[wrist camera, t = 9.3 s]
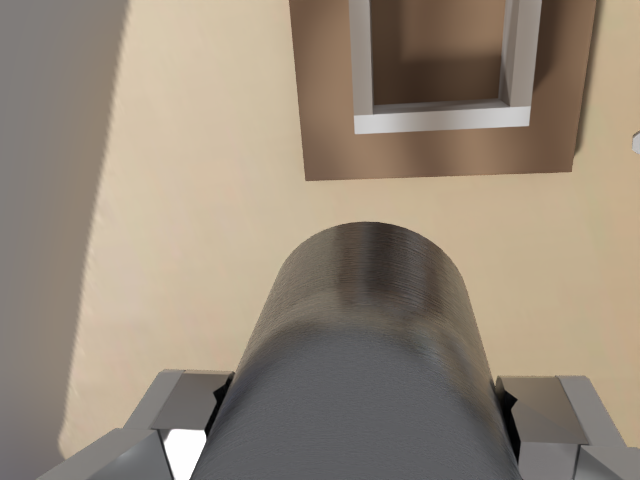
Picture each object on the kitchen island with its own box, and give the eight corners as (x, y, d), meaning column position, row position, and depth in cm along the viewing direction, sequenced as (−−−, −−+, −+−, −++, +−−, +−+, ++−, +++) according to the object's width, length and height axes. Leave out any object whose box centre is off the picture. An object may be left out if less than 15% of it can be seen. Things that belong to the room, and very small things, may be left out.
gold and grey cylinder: (474, 219, 11) (726, 802, 3) (464, 391, 13) (593, 1020, 5) (260, 224, 12) (-34, 697, 4) (283, 386, 14) (129, 923, 6)
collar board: (610, -160, 23) (654, -195, 19) (564, 166, 30) (590, 188, 26) (282, -118, 25) (263, -142, 21) (308, 175, 32) (297, 196, 28)
